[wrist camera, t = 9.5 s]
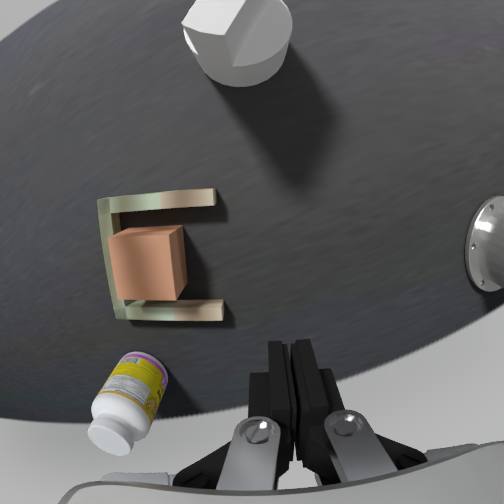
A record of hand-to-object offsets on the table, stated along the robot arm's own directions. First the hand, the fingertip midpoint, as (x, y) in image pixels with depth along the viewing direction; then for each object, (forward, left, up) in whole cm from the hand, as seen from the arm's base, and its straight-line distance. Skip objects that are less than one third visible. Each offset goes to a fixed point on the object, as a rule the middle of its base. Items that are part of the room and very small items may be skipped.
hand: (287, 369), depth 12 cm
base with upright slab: (+2, -21, -19) cm, 29 cm away
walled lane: (+11, 0, -19) cm, 22 cm away
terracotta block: (+12, 0, -19) cm, 23 cm away
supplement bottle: (+16, +15, -19) cm, 29 cm away
